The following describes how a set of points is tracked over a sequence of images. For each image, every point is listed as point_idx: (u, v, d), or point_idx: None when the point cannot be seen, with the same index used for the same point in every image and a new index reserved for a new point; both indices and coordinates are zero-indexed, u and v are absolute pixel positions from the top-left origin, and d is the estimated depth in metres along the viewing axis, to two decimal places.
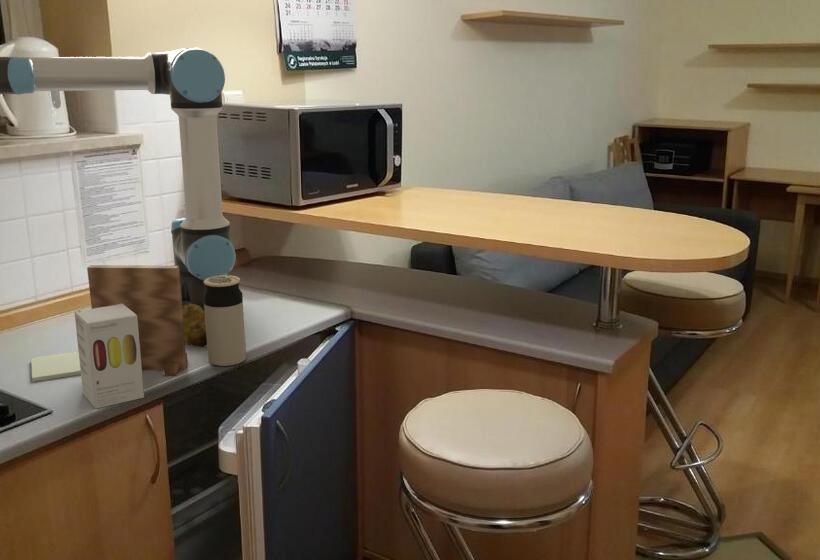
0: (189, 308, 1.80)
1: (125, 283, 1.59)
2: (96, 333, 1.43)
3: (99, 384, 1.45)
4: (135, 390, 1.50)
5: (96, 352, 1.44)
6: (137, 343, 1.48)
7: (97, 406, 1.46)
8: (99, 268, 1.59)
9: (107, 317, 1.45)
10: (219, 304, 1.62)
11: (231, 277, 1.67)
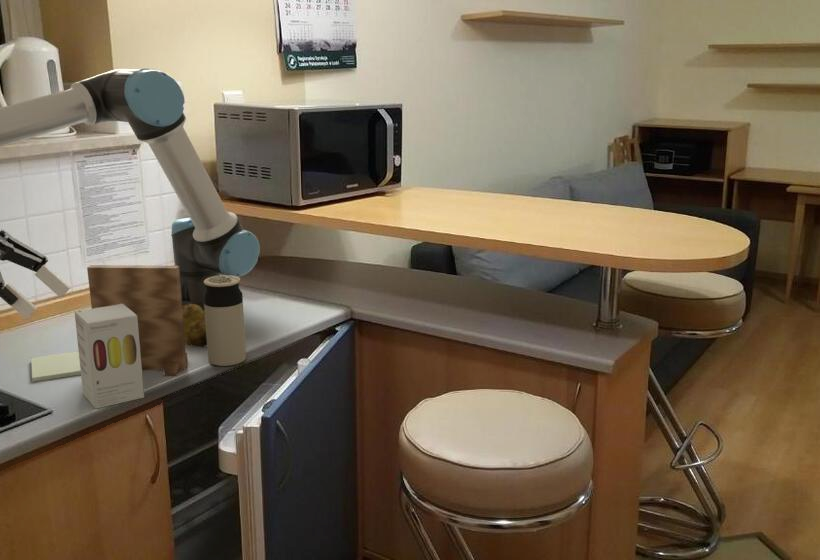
0: (189, 308, 1.80)
1: (125, 283, 1.59)
2: (96, 333, 1.43)
3: (99, 384, 1.45)
4: (135, 390, 1.50)
5: (96, 352, 1.44)
6: (137, 343, 1.48)
7: (97, 406, 1.46)
8: (99, 268, 1.59)
9: (107, 317, 1.45)
10: (219, 304, 1.62)
11: (231, 277, 1.67)
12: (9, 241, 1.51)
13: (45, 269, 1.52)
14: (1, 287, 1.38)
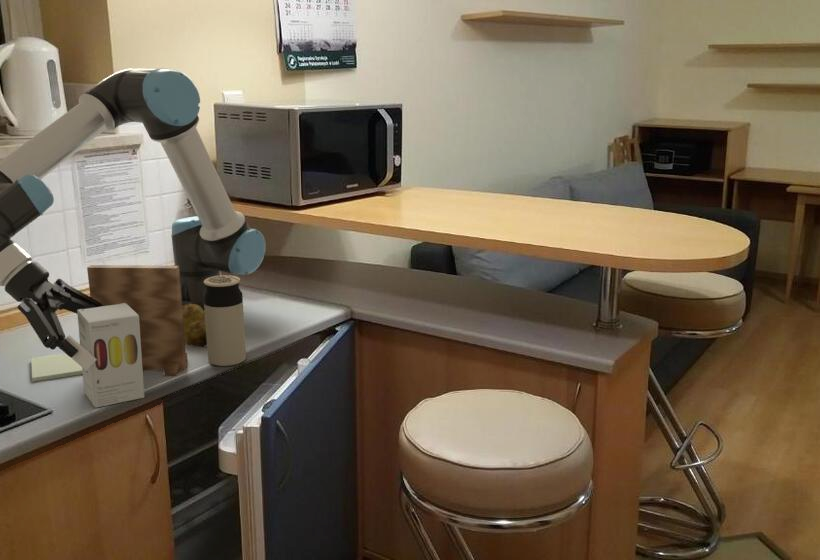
0: (189, 308, 1.80)
1: (125, 283, 1.59)
2: (97, 332, 1.43)
3: (99, 383, 1.45)
4: (136, 390, 1.50)
5: (97, 351, 1.44)
6: (138, 343, 1.48)
7: (97, 405, 1.46)
8: (99, 268, 1.59)
9: (109, 316, 1.45)
10: (219, 304, 1.62)
11: (231, 277, 1.67)
12: (66, 290, 1.52)
13: None
14: (62, 340, 1.40)
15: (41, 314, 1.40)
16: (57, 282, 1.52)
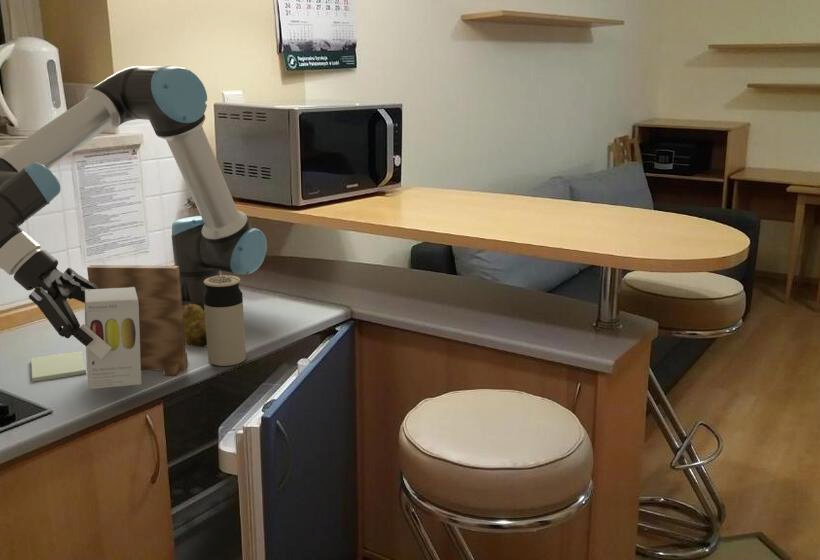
0: (189, 308, 1.80)
1: (125, 283, 1.59)
2: (94, 313, 1.42)
3: (94, 365, 1.44)
4: (132, 376, 1.47)
5: None
6: (137, 328, 1.45)
7: (91, 386, 1.45)
8: (99, 268, 1.59)
9: (109, 298, 1.43)
10: (219, 304, 1.62)
11: (231, 277, 1.67)
12: (75, 279, 1.51)
13: None
14: (77, 329, 1.40)
15: (53, 303, 1.39)
16: (67, 271, 1.51)
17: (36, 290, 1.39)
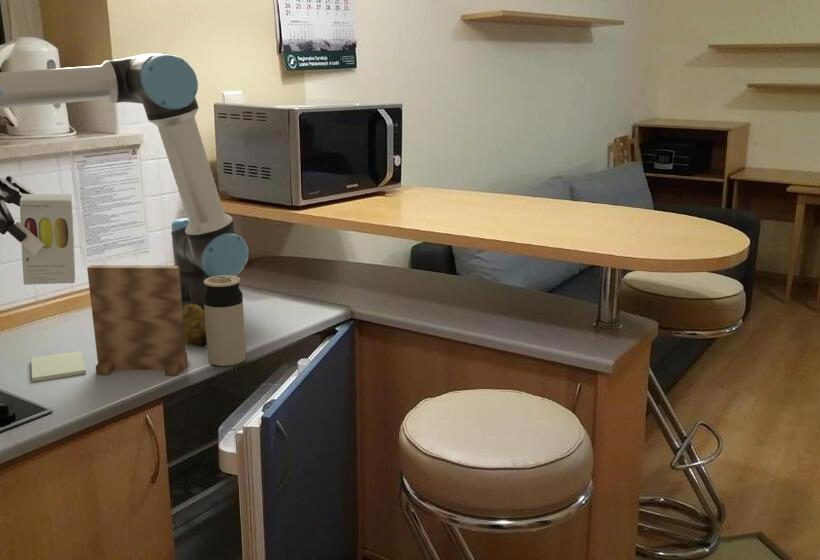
0: (190, 308, 1.80)
1: (125, 283, 1.59)
2: (28, 211, 1.51)
3: (29, 261, 1.53)
4: (65, 274, 1.57)
5: None
6: (69, 228, 1.55)
7: (26, 282, 1.54)
8: (99, 268, 1.59)
9: (43, 198, 1.53)
10: (219, 304, 1.62)
11: (231, 277, 1.67)
12: (15, 186, 1.61)
13: None
14: (11, 225, 1.50)
15: None
16: (7, 178, 1.61)
17: None
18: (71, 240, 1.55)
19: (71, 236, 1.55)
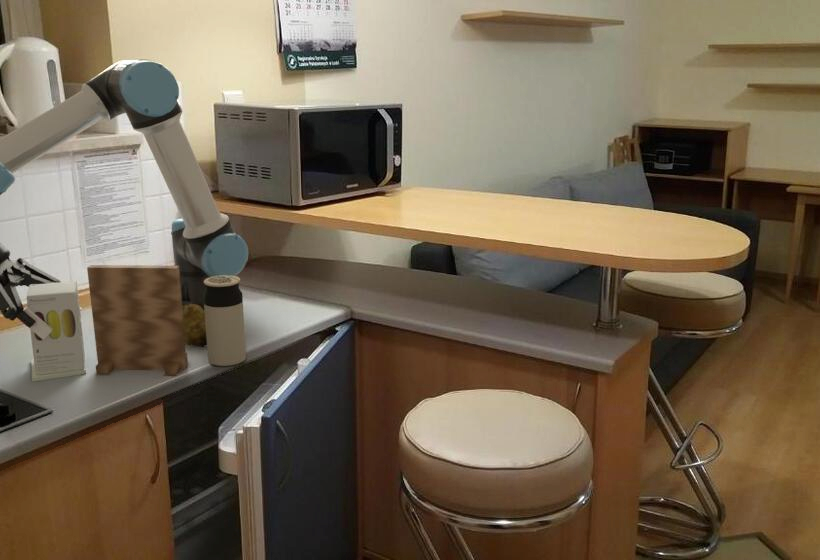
0: (190, 308, 1.80)
1: (125, 283, 1.59)
2: (35, 305, 1.56)
3: (39, 352, 1.58)
4: (75, 362, 1.61)
5: None
6: (76, 318, 1.59)
7: (37, 372, 1.59)
8: (99, 268, 1.59)
9: (49, 292, 1.57)
10: (219, 304, 1.62)
11: (231, 277, 1.67)
12: (26, 268, 1.66)
13: None
14: (20, 311, 1.54)
15: (1, 288, 1.54)
16: (18, 261, 1.65)
17: None
18: (78, 329, 1.60)
19: (78, 325, 1.60)
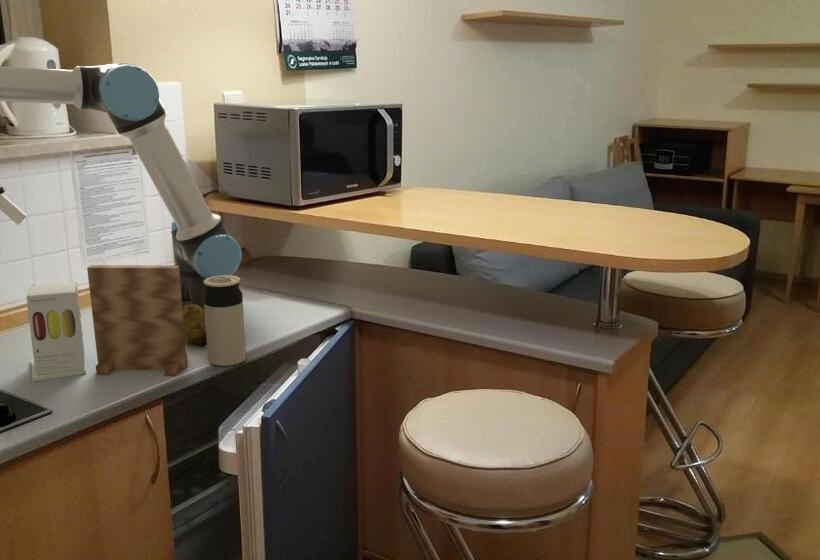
0: (190, 308, 1.80)
1: (125, 283, 1.59)
2: (35, 305, 1.56)
3: (39, 352, 1.58)
4: (75, 362, 1.61)
5: (36, 323, 1.57)
6: (76, 318, 1.59)
7: (37, 372, 1.59)
8: (99, 268, 1.59)
9: (49, 292, 1.57)
10: (219, 304, 1.62)
11: (231, 277, 1.67)
12: None
13: (2, 198, 1.63)
14: None
15: None
16: None
17: None
18: (78, 329, 1.60)
19: (78, 325, 1.60)
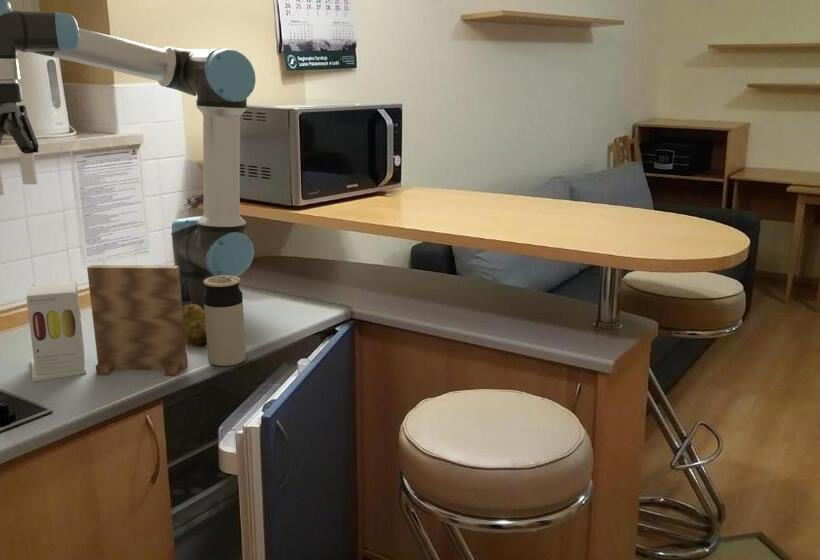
0: (190, 308, 1.80)
1: (125, 283, 1.59)
2: (35, 305, 1.56)
3: (39, 352, 1.58)
4: (75, 362, 1.61)
5: (36, 323, 1.57)
6: (76, 318, 1.59)
7: (37, 372, 1.59)
8: (99, 268, 1.59)
9: (49, 292, 1.57)
10: (218, 304, 1.62)
11: (231, 277, 1.67)
12: (22, 117, 1.63)
13: (30, 157, 1.66)
14: None
15: None
16: (21, 107, 1.62)
17: None
18: (78, 329, 1.60)
19: (78, 325, 1.60)
